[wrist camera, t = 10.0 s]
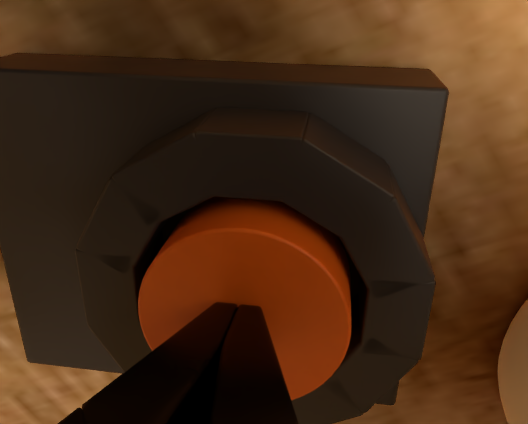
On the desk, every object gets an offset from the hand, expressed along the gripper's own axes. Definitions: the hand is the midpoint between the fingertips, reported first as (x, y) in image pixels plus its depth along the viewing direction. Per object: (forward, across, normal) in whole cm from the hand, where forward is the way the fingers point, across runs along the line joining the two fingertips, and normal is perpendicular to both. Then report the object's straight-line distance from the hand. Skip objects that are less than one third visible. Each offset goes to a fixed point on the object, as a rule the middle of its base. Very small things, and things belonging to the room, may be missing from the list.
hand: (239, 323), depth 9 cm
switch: (+2, 0, 0) cm, 2 cm away
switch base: (+5, +2, 0) cm, 5 cm away
